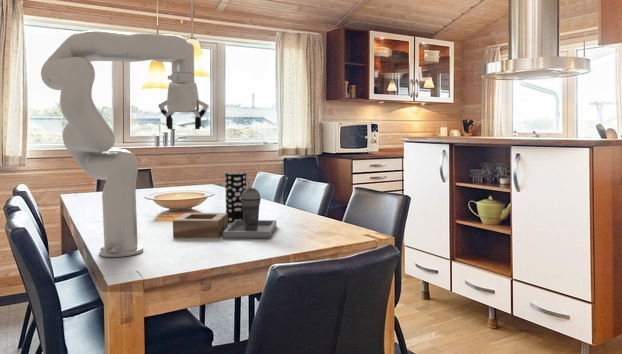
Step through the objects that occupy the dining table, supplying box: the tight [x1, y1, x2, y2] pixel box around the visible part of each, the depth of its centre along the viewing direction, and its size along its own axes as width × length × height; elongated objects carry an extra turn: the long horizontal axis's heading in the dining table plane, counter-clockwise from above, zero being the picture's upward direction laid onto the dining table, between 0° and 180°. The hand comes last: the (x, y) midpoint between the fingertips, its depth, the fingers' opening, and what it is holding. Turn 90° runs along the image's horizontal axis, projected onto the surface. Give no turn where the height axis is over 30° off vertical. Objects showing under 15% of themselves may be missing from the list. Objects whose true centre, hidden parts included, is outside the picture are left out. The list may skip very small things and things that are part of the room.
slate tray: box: [222, 219, 277, 240], centre depth 181 cm, size 22×16×2 cm
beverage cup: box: [241, 175, 261, 231], centre depth 180 cm, size 7×7×20 cm
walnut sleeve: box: [172, 212, 229, 239], centre depth 181 cm, size 16×16×6 cm
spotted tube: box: [224, 172, 247, 226], centre depth 200 cm, size 8×8×20 cm
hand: (183, 129), depth 172 cm, fingers open, 9 cm apart
